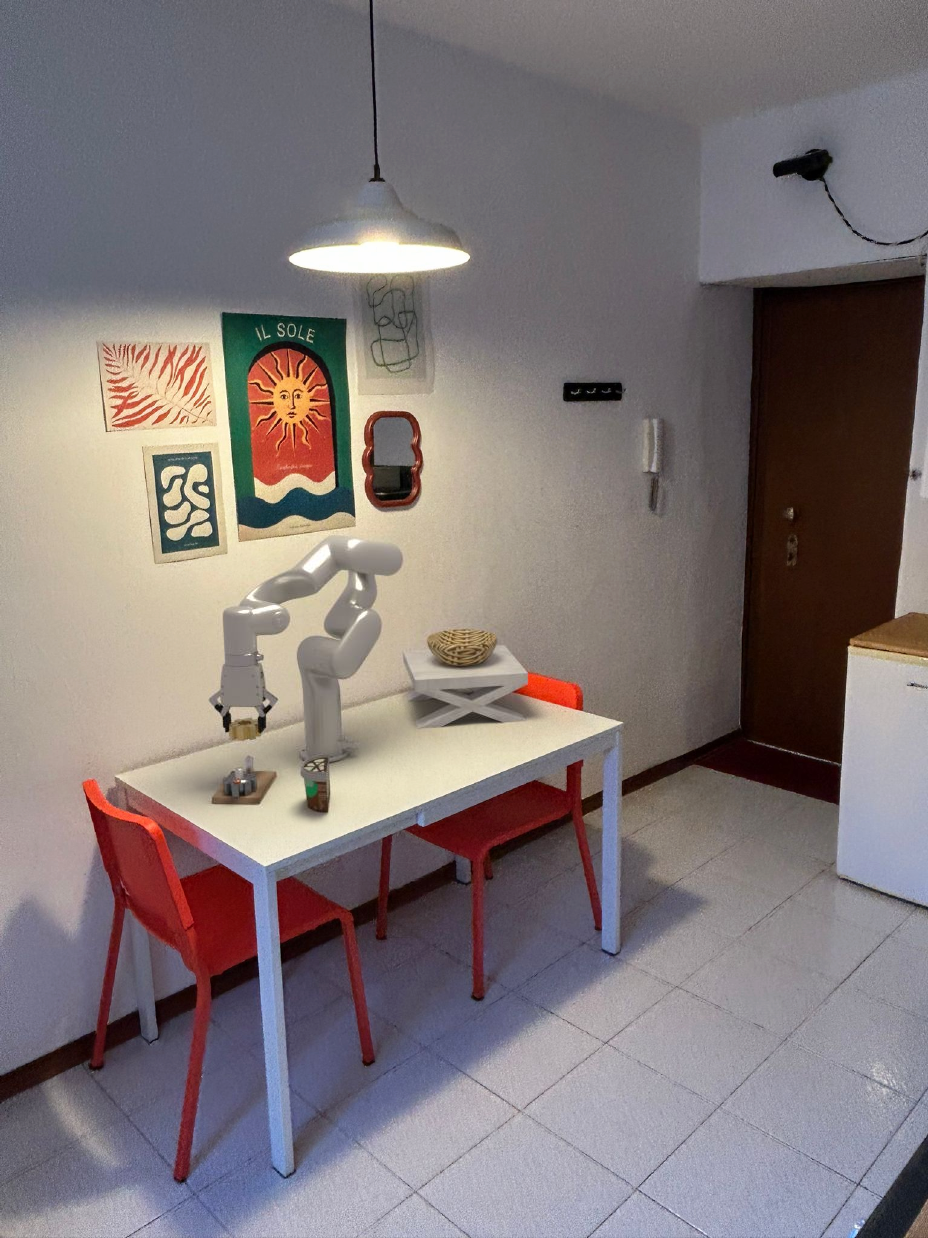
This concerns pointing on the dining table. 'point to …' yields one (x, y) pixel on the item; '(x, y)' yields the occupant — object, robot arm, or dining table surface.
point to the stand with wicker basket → (464, 676)
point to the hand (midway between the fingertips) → (244, 730)
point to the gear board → (263, 786)
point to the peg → (249, 764)
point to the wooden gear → (244, 729)
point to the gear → (239, 783)
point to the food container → (317, 782)
